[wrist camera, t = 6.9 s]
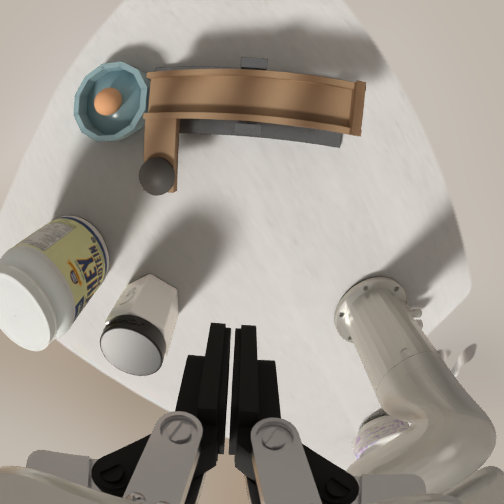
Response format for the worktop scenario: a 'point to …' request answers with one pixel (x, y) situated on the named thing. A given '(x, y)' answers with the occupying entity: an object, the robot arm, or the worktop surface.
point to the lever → (239, 109)
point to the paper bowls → (377, 434)
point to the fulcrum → (255, 127)
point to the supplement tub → (50, 280)
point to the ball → (108, 101)
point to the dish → (132, 107)
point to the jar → (141, 326)
